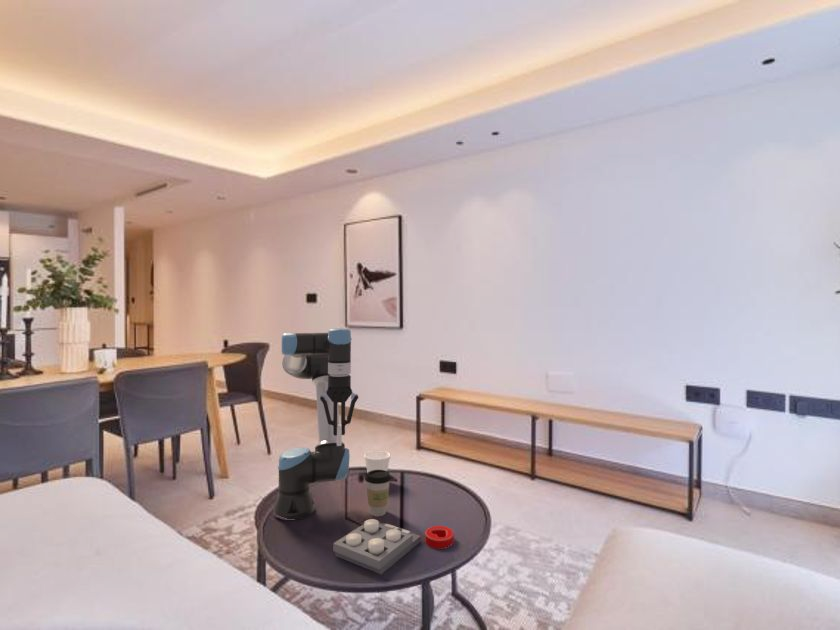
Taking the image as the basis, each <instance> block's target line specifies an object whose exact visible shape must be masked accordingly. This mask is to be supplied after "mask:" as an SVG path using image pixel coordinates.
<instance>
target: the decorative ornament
mask: <svg viewBox="0 0 840 630" xmlns="http://www.w3.org/2000/svg"><path fill="white" fill-rule="evenodd" d="M454 537H455V535H454V531H453V530H452V529H451V528H449V527H447V526H443V525H441V526H440V525H436V526H435V525H434V526H430V527H428V528H427V529H426V531H425V533H424V543H425V544H426V545H427V546H428V547H430V548H433V549H438V550H439V549H440V550H441V549H442V548H444V549H446V548H445V547H448V546H450V545H451V544H452V543H453V541H455V540H454V539H455V538H454ZM453 544H454V543H453ZM450 547H451V546H450ZM448 548H449V547H448ZM442 550H443V549H442Z"/></svg>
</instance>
